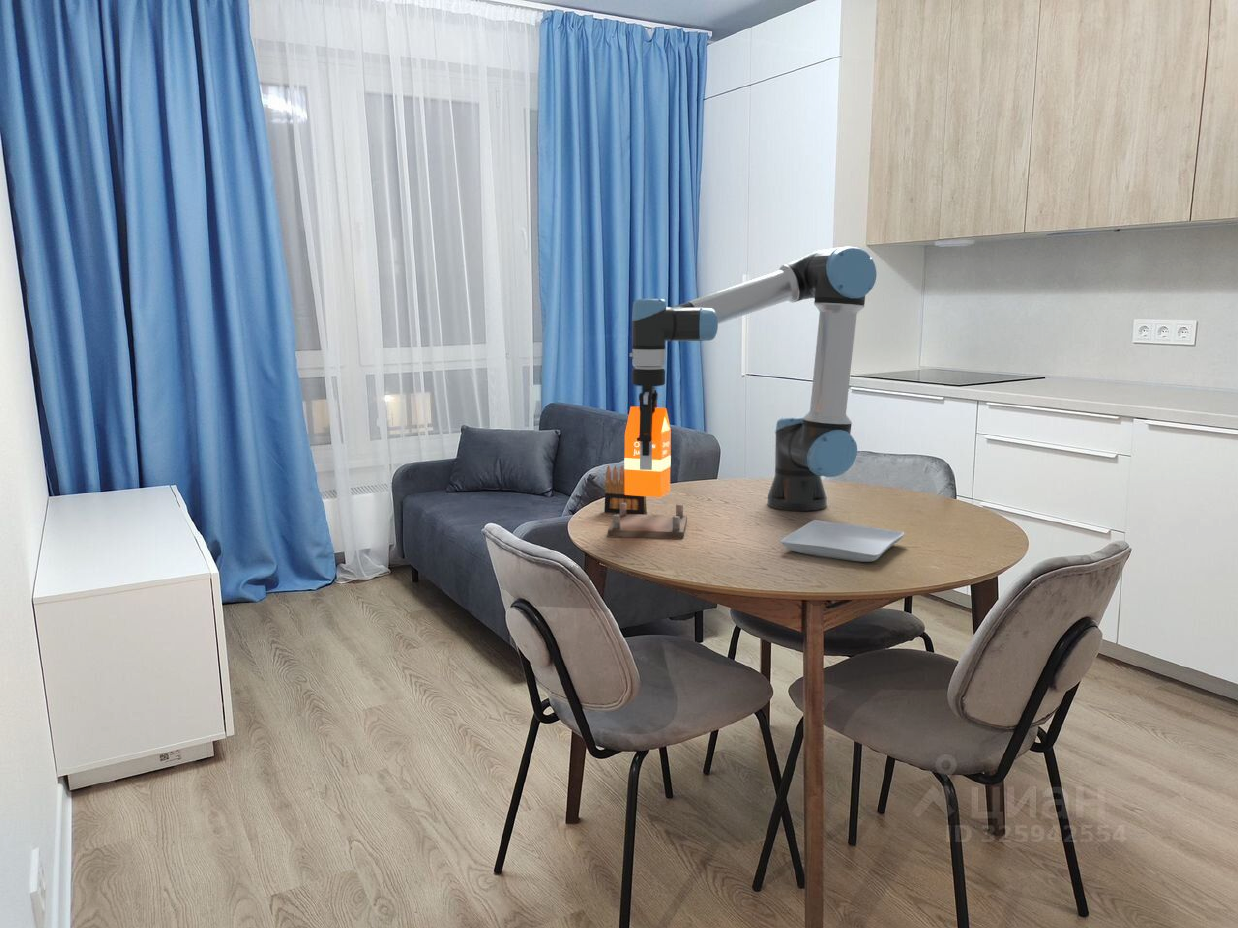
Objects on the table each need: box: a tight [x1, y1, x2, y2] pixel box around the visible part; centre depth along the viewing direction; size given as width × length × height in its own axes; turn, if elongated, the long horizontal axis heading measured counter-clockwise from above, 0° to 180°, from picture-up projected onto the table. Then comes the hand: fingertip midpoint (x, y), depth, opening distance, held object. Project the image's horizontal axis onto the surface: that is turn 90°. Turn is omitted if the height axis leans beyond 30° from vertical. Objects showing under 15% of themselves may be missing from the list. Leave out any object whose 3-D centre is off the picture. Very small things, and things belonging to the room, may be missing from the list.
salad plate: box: [779, 519, 906, 563], centre depth 194 cm, size 21×21×3 cm
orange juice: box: [623, 406, 672, 498], centre depth 209 cm, size 8×9×20 cm
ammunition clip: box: [604, 465, 648, 515], centre depth 228 cm, size 11×2×12 cm, turn 71°
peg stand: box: [607, 503, 688, 539], centre depth 212 cm, size 17×16×4 cm
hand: (647, 465), depth 210 cm, fingers closed on orange juice, 9 cm apart
